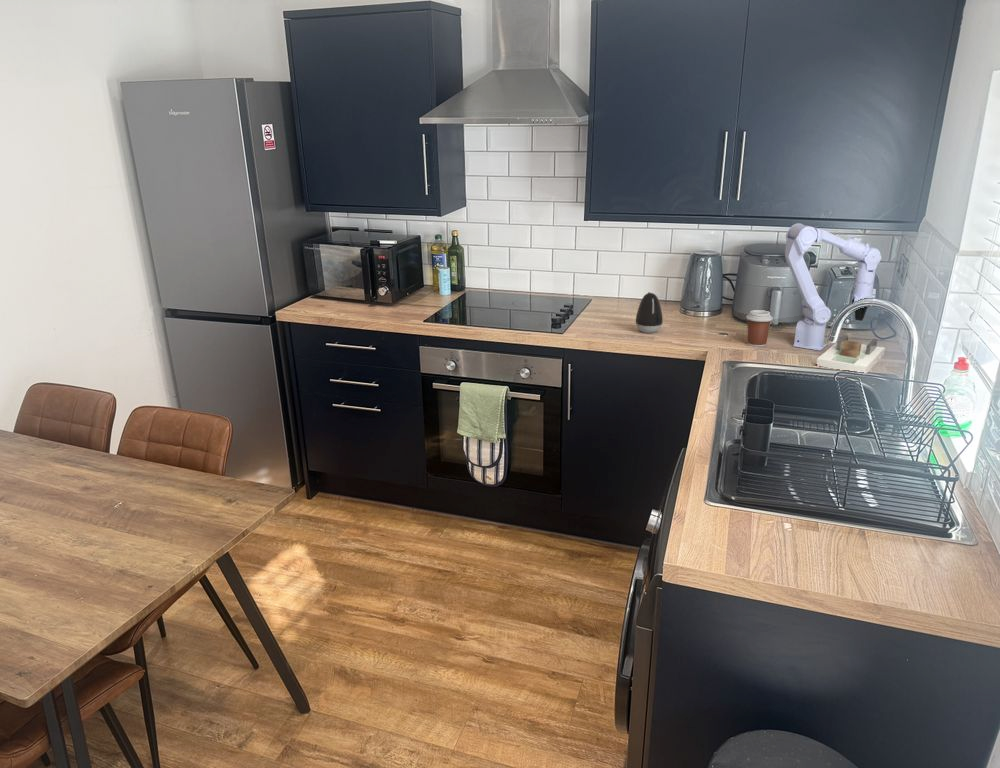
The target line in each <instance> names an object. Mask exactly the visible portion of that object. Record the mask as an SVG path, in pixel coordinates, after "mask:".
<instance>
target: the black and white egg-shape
mask: <svg viewBox="0 0 1000 768" xmlns="http://www.w3.org/2000/svg"><path fill="white" fill-rule="evenodd" d="M663 320H664V319H663V312H662V307H661V301H660V300H659V298H658V296H657V294H655V293H653V292H647V293H645V294H644V295H643V297H642V298H641V300H640V302H639V305H638V308H637V312H636V316H635V323H636V328H637V329H638V331H640V332H641V333H643V332H644V334H655V333H657V332H658V331H659V330H660V329H661V327H662V325H663V323H664V322H663Z"/></svg>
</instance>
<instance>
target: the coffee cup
mask: <svg viewBox="0 0 1000 768" xmlns="http://www.w3.org/2000/svg"><path fill="white" fill-rule="evenodd" d="M745 319H747V345H748V346H750V347H756V348H763V347H766V346H767V343H768V337H769V332H770V328H771V326H770V322H771V321H772V320H773V321H774V316H773V317H772V316H771V315H770V312H769V311H765V310H752V309H751V310H750V311H749V313H748V314H746V316H745Z"/></svg>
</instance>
